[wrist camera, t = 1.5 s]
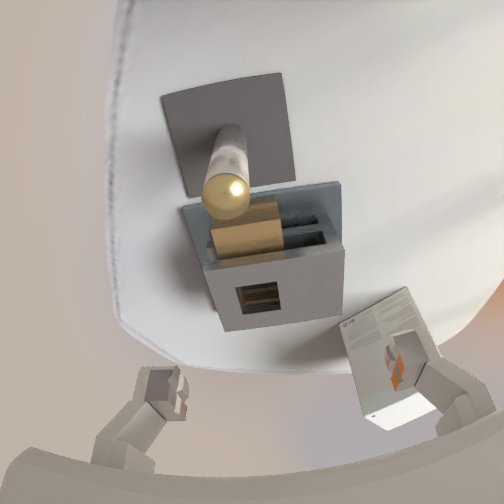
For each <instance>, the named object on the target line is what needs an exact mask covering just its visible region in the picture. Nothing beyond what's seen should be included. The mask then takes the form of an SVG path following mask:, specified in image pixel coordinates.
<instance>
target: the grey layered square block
mask: <svg viewBox="0 0 504 504" xmlns="http://www.w3.org/2000/svg"><path fill="white" fill-rule="evenodd" d="M183 212H184V215H185V218H186V222H187V225H188V228H189V231H190V234H191V237H192V240H193V243H194V246H195V249H196V252H197V255H198V258H199V261H200V264H201V266H202V269H203V273H204V276H205V279H206V281H207V284H208V287H209V290H210V293H211V295H212V298H213V301H214V304H215V307H216V309H217V312H218V315H219V317H220V320H221V323H222V325H223V328H224V331H225V332H229V331H238V330H246V329H254V328H261V327H269V326H276V325H283V324H289V323H296V322H302V321H308V320H315V319H320V318H326V317H332V316H337V315H342V301H343V283H344V257H345V250H344V247H343V245H342V203H341V184H340V183H339V182H331V183H323V184H315V185H308V186H300V187H293V188H286V189H280V190H273V191H267V192H260V193H254V194H250V203H249V206H248V208H247V209H246V211H245V212H244V213H243V214H242V215H240V216H238V217H236V218H234V219H228V220H225V219H219V218H216V217H214V216H212V215H210V214H209V213H208V212H207V211H206V210H205V208H204V207H203V204H202V203H197V204H192V205H186V206H184V208H183Z"/></svg>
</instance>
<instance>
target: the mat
mask: <svg viewBox="0 0 504 504" xmlns="http://www.w3.org/2000/svg"><path fill="white" fill-rule="evenodd" d="M162 100H163V104H164V107H165V111H166V115H167V119H168V123H169V127H170V130H171V134H172V138H173V141H174V145H175V149H176V152H177V156H178V160H179V163H180V167H181V170H182V174H183V177H184V181H185V184H186V188H187V191H188V194H189V198H194V197H199V196H201V195H202V191H203V187H204V183H205V179H206V175H207V171H208V167H209V163H210V160H211V156H212V152H213V149H214V145H215V141H216V138H217V134H218V132H219V130H220V129H221V128H222V127H223V126H225V125H228V124H236V125H238V126H240V127H242V128H243V130H244V131H245V133H246V140H247V156H248V171H249V187H256V186H263V185H269V184H276V183H282V182H289V181H296V177H295V168H294V160H293V151H292V143H291V136H290V128H289V120H288V113H287V106H286V99H285V92H284V86H283V79H282V73H275V74H267V75H260V76H253V77H247V78H241V79H235V80H230V81H224V82H219V83H214V84H210V85H205V86H200V87H196V88H192V89H188V90H183V91H179V92H176V93H172V94H168V95H164V96H162Z"/></svg>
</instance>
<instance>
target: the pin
mask: <svg viewBox="0 0 504 504" xmlns="http://www.w3.org/2000/svg"><path fill="white" fill-rule="evenodd" d="M201 200H202V204H203V207H204V208H205V210H206V211H207V212H208V213H209V214H210V215H212V216H214V217H216V218H219V219H225V220H228V219H234V218H236V217H238V216H240V215H242V214H243V213H244V212H245V211H246V209H247V208H248V206H249V203H250V187H249V171H248V156H247V140H246V133H245V131H244V130H243V128H242V127H240V126H238V125H236V124H228V125H225V126H223V127H222V128H221V129H220V130H219V132H218V134H217V138H216V141H215V145H214V149H213V152H212V156H211V160H210V163H209V167H208V171H207V175H206V179H205V183H204V187H203V191H202V195H201Z"/></svg>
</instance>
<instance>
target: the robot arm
mask: <svg viewBox="0 0 504 504" xmlns="http://www.w3.org/2000/svg"><path fill="white" fill-rule="evenodd" d="M387 341H388V345H387V346H386V348H385V362H386V366H387V369H388V370H389V371H391V372H392V376H391V381H392V384H393V387H394V390H395V392H398V391H402V390H406V389H410V388H413V387H415V389H416V390H417V391H418V392H419V393H420V394H421V395H422V396H424V397H425V398H426V399H427V400H428V401H429V402H430V403H431V404H433V405H434V406H435V407H436V408H437V409H438V410H439V411H440V412H441V413H443V415H442V417H441V418H440V419H439V420H438V422H437V423H436V425H435V428H436V432H437V435H438V437H437V438H434V439H432V440H429V441H426V442H423V443H421V444H418V445H415V446H412V447H409V448H406V449H402V450H399V451H396V452H393V453H389V454H386V455H382V456H378V457H375V458H371V459H367V460H362V461H358V462H354V463H349V464H344V465H340V466H334V467H329V468H323V469H317V470H311V471H303V472H296V473H287V474H278V475H265V476H249V477H189V476H173V475H162V474H154V467H155V462H154V461H153V460H152V459H150V458H149V457H148V456H146V455H145V453H146V451H147V450H148V448H149V447H150V446H151V444H152V443H153V441H154V440H155V438H156V437H157V436H158V434H159V433H160V431H161V430H162V428H163V427H164V426H165V424H166V423H167V422H166V421H185V420H186V412H187V406H186V405H185V403H184V402H185V400H186V399H187V398H188V393H189V390H188V383H187V380H186V378H185V377H184V376H183V375H181V374H180V369H179V368H178V366H160V367H154V366H152V367H141V369H140V370H139V373H138V378H137V382H136V386H135V391H134V395H133V399H132V401H129V402H128V403H127V404H126V405H125V406H124V407H123V408H122V409H121V410H120V412H118V413H117V415H116V416H115V417H114V418H113V419H112V420H111V421H110V422H109V423H108V424H107V426H105V427H104V429H103V430H102V431H101V432H100V433H99V434H98V435H97V436H96V440H95V444H94V448H93V454H92V458H91V462H90V463H88V462H83V461H79V460H75V459H71V458H67V457H64V456H60V455H56V454H53V453H50V452H47V451H43V450H41V449H38V448H33V447H30V448H27V449H26V450H24V451H23V452H22V453H21V454H20V455H19V456H18V457H16V458H15V459H14V460H13V461H12V462H11V463H10V465H9V466H8V468H7V471H6V473H5V476H4V479H3V482H2V486H1V490H0V504H504V407H502V408H500V409H499V410H496V408H495V405H494V403H493V400H492V398H491V396H490V394H489V392H488V389H487V387H486V385H485V384H484V383H482V382H481V381H480V380H478V379H477V378H475V377H474V376H472V375H471V374H469V373H468V372H466V371H465V370H463V369H462V368H460V367H459V366H457V365H456V364H454V363H453V362H451V361H450V360H448V359H447V358H445V357H442V358H441V356H440V354H439V352H438V350H437V348H436V346H435V344H434V341H433V339H432V337H431V335H430V333H429V331H428V330H427V328H426V327H425V326H420V327H417V328H414V329H409V330H405V331H401V332H397V333H394V334H390V335H389V336H388V339H387Z"/></svg>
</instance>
